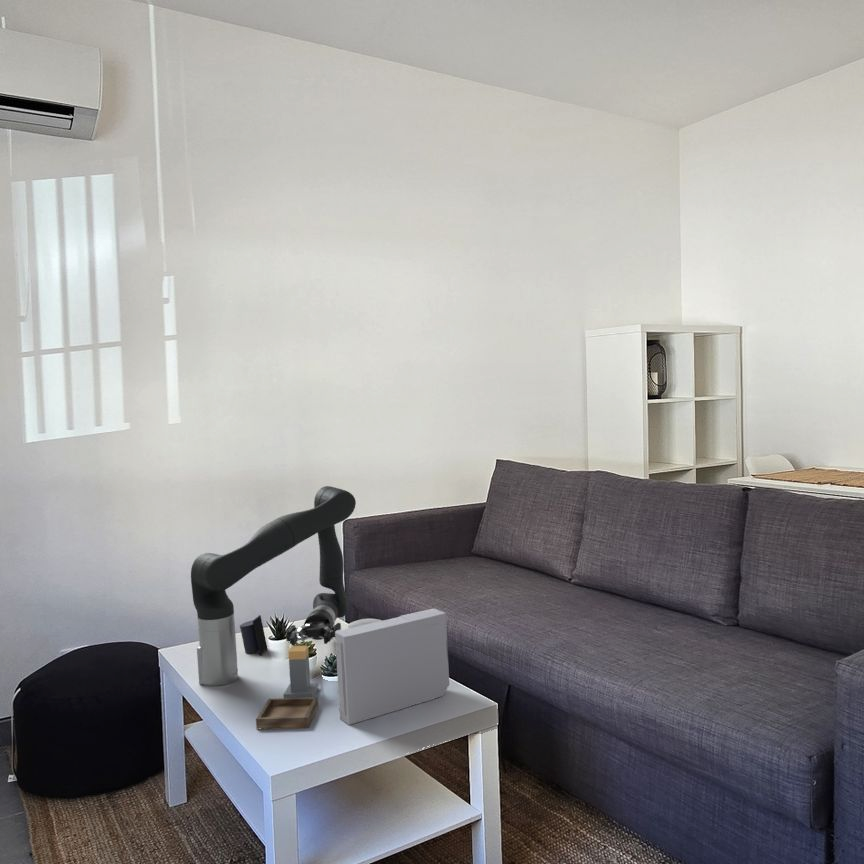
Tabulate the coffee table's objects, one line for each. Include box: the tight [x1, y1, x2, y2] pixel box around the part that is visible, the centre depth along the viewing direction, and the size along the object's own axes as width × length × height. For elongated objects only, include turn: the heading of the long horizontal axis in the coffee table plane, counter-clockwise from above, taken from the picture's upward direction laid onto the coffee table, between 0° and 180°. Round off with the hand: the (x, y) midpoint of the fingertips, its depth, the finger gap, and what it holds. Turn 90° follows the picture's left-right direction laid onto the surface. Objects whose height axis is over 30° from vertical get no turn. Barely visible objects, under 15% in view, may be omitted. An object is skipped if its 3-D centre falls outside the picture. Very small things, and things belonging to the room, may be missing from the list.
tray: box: [255, 696, 319, 730], centre depth 180 cm, size 12×12×2 cm
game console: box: [334, 608, 450, 726], centre depth 184 cm, size 6×27×20 cm, turn 123°
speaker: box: [239, 615, 268, 657], centre depth 230 cm, size 8×6×10 cm
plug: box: [283, 645, 319, 698], centre depth 194 cm, size 7×7×12 cm
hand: (308, 641), depth 205 cm, fingers open, 8 cm apart
